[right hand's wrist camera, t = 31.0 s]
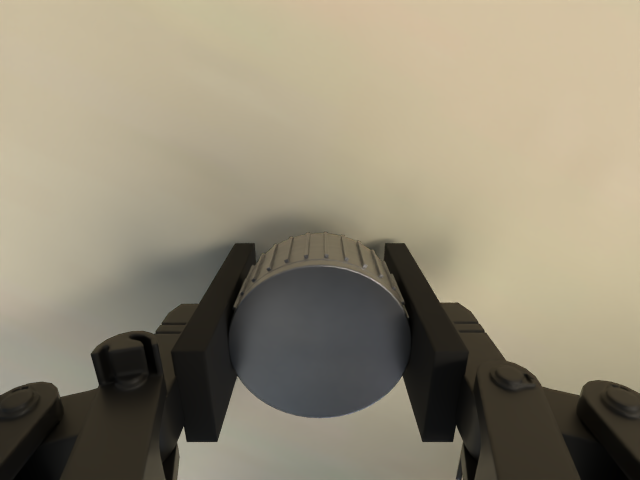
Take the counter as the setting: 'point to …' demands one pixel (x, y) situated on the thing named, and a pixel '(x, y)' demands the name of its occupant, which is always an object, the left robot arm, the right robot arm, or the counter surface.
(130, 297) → the counter surface
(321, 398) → the lid
